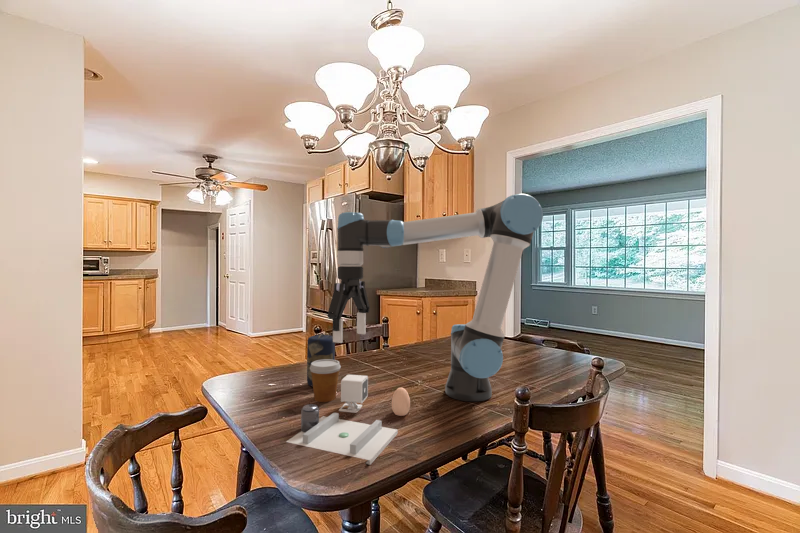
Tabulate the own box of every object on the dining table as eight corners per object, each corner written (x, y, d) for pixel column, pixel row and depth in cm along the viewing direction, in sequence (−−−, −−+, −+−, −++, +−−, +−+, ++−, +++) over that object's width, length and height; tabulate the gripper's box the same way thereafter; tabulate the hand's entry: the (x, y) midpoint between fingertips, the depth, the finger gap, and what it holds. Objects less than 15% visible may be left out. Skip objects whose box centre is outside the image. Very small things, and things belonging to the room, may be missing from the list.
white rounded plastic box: (361, 417, 106) (361, 381, 106) (337, 415, 107) (338, 380, 107) (367, 408, 112) (368, 375, 112) (345, 406, 113) (345, 373, 113)
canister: (301, 386, 131) (301, 335, 131) (317, 379, 140) (317, 330, 139) (324, 390, 127) (325, 337, 127) (339, 382, 136) (339, 332, 136)
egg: (408, 412, 109) (408, 384, 109) (411, 420, 104) (412, 390, 104) (390, 413, 109) (390, 385, 109) (392, 421, 103) (393, 391, 103)
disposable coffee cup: (325, 409, 111) (326, 368, 111) (302, 402, 116) (303, 364, 116) (346, 399, 119) (347, 361, 119) (324, 393, 124) (324, 357, 124)
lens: (322, 426, 97) (322, 405, 97) (312, 433, 93) (312, 411, 93) (307, 424, 99) (307, 402, 99) (297, 431, 95) (297, 408, 95)
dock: (397, 433, 96) (397, 421, 96) (370, 464, 81) (370, 451, 81) (323, 419, 104) (323, 408, 104) (285, 445, 89) (285, 433, 89)
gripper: (359, 265, 124) (359, 329, 124) (314, 265, 101) (314, 345, 101) (380, 265, 121) (380, 331, 121) (338, 266, 98) (338, 347, 98)
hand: (350, 337), depth 111 cm, fingers open, 13 cm apart
